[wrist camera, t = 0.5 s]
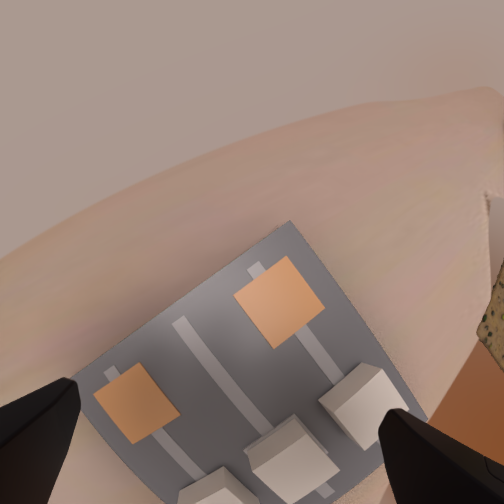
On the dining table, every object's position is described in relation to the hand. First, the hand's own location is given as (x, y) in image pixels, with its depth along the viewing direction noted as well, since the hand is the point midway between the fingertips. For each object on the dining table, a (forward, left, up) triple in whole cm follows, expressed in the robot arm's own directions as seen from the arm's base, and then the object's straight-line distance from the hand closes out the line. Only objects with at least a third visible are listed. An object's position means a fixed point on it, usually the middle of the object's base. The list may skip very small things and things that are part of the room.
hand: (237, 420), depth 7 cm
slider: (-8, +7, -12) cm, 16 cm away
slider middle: (-8, +1, -12) cm, 15 cm away
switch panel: (-5, +1, -14) cm, 15 cm away
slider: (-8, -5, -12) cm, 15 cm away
